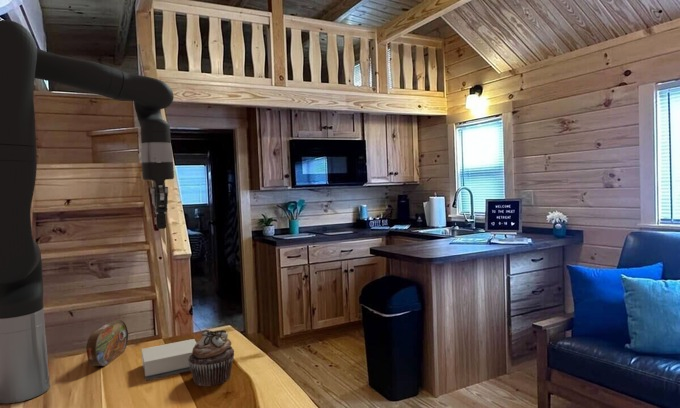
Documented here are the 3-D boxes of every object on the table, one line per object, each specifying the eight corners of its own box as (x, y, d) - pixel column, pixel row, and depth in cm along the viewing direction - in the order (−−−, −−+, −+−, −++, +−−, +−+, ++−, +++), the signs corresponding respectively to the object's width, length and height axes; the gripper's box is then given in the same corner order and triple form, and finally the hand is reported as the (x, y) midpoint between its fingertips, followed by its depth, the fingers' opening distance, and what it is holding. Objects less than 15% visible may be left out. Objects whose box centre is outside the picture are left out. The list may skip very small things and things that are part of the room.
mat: (145, 380, 98) (145, 378, 98) (142, 366, 106) (142, 365, 106) (202, 368, 104) (202, 366, 104) (195, 355, 111) (195, 354, 111)
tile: (142, 363, 107) (145, 377, 99) (141, 348, 107) (144, 362, 99) (195, 352, 112) (201, 365, 104) (194, 338, 112) (201, 350, 104)
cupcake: (193, 370, 103) (191, 327, 102) (237, 367, 104) (235, 324, 103) (184, 390, 93) (181, 342, 93) (232, 385, 94) (230, 338, 94)
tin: (98, 372, 104) (96, 336, 103) (85, 372, 104) (82, 336, 103) (130, 347, 119) (128, 316, 118) (118, 347, 119) (116, 316, 118)
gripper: (139, 162, 120) (143, 227, 121) (143, 160, 108) (148, 232, 109) (169, 162, 123) (173, 225, 124) (176, 159, 112) (180, 229, 113)
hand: (161, 228), depth 117 cm, fingers closed
